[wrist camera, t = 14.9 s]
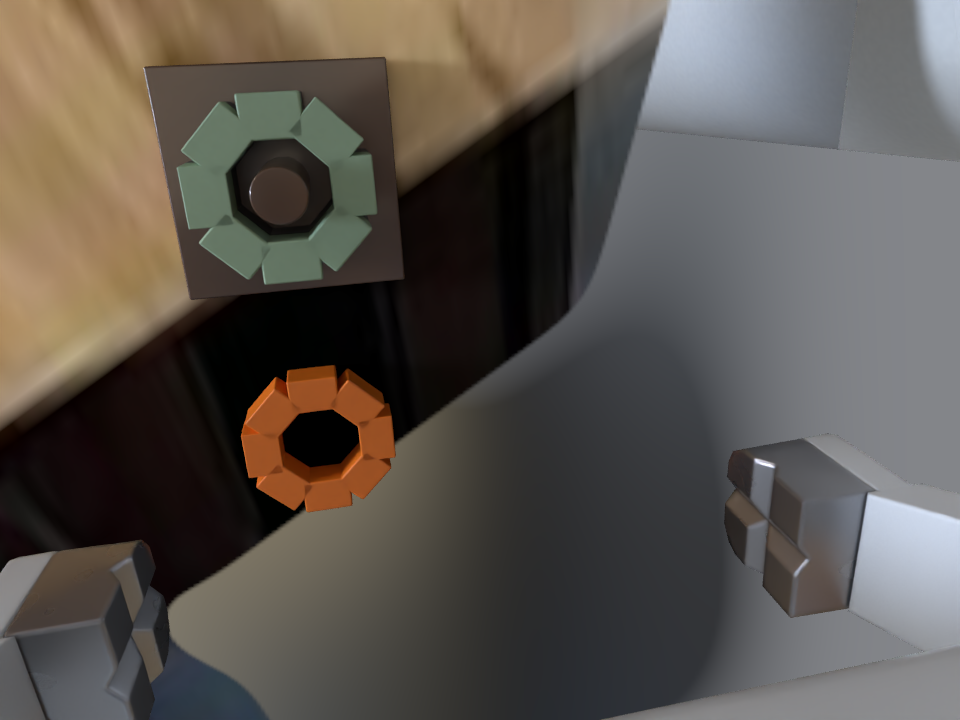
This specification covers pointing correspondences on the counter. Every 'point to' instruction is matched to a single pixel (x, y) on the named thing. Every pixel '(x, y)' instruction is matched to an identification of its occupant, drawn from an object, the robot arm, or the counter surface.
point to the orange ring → (326, 482)
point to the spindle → (281, 162)
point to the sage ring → (215, 196)
